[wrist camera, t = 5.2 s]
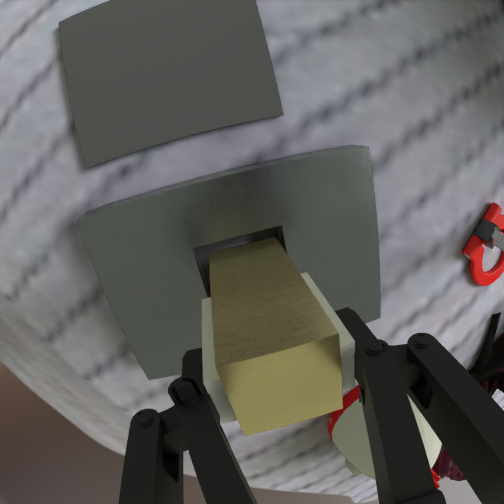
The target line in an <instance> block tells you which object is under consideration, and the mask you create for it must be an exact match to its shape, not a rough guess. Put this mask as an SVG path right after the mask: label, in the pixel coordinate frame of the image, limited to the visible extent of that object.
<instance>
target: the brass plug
mask: <svg viewBox="0 0 504 504" xmlns="http://www.w3.org/2000/svg"><path fill="white" fill-rule="evenodd" d="M209 269H210V290H211V308H212V324H213V340H214V354H215V367H216V370H217V372H218V375H219V377H220V380H221V382H222V384H223V387H224V389H225V392H226V394H227V396H228V399H229V401H230V404H231V406H232V408H233V411H234V413H235V415H236V417H237V420H238V422H239V424H240V427H241V429H242V431H243V433H244V435H245V436H246V435H251V434H255V433H260V432H264V431H268V430H272V429H276V428H280V427H284V426H287V425H291V424H294V423H298V422H301V421H305V420H308V419H312V418H315V417H318V416H321V415H324V414H327V413H330V412H333V411H336V410H339V409H342V408H343V401H342V375H341V356H340V340H339V333H338V331H337V329H336V328H335V326H334V325H333V323H332V322H331V320H330V319H329V317H328V316H327V314H326V312H325V311H324V309H323V308H322V306H321V305H320V303H319V302H318V300H317V299H316V297H315V296H314V294H313V292H312V291H311V289H310V288H309V286H308V285H307V283H306V282H305V280H304V279H303V277H302V276H301V274H300V273H299V271H298V270H297V268H296V267H295V265H294V264H293V262H292V261H291V259H290V258H289V256H288V255H287V253H286V252H285V250H284V249H283V247H282V246H281V244H280V243H279V241H278V240H277V238H276V237H272V238H268V239H264V240H260V241H257V242H253V243H249V244H245V245H241V246H237V247H233V248H229V249H225V250H221V251H217V252H213V253H210V254H209Z"/></svg>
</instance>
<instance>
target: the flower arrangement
mask: <svg viewBox="0 0 504 504" xmlns="http://www.w3.org/2000/svg"><path fill="white" fill-rule="evenodd" d="M500 315H501V312H500V313H497V314H493V315H492V321H491V324H490V328H489V332H488V335H487V338H486V341H485V344H484V346H483V349H482V352H481V355H480V357H479V358H478V360H477V361H476V363H475V365H474V366H473V368H472V369H471V370H470V371H469V373H470V375H471V376H472V377H473V378H474V379H475V380H476V381H477V382H478V383H479V384H480V385H481V386H482V387H483V388H484V390H485V391H486V392H487V393H488V394H489V395H490V396H491V397H492V395H493V394H494V392H495V391H496V390H497V388H498V389H499V390H501V391H502V392H503V393H504V333H503V334H502V335H501V336H500V337H499V338H498V339H497V340H496V341H495V342H494V343H493V340H494V336H495V333H496V330H497V327H498V323H499V319H500ZM432 469H433V471H434V472H435V473H436V474H437V475H438V476H439V475H440V477H441V479H443V478H444V477H446V476H447V477H449V478H450V479H451V480H456V481H462V480H466V478H465V477H464V475H463V474H462V472H461V471H460V469H459V468H458V466H457V465H456V463H455V462H454V460H453V459H452V457H451V456H450V454H449V453H448V451H447V450H446V448H445V447H444V446H443V444H442V445H441V449H440V452H439V455H438V457H437V459H436V462H435V463H434V465H433V467H432Z"/></svg>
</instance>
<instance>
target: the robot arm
mask: <svg viewBox="0 0 504 504" xmlns="http://www.w3.org/2000/svg"><path fill="white" fill-rule="evenodd" d="M502 1H503V2H504V0H502ZM301 276H302V277H303V279H304V280H305V282H306V283H307V285H308V286H309V288H310V289H311V291H312V292H313V294H314V296H315V297H316V299H317V300H318V302H319V303H320V305H321V306H322V308H323V309H324V311H325V312H326V314H327V316H328V317H329V319H330V320H331V322H332V323H333V325H334V326H335V328H336V329H337V331H338V333H339V340H340V356H341V375H342V391H343V390H346V389H349V388H351V387H354V386H355V378H356V380H357V382H358V384H359V403H360V402H361V403H362V408H363V413H364V418H365V423H366V428H367V433H368V438H369V443H370V449H371V455H372V460H373V466H374V472H375V478H376V485H377V491H378V498H379V504H446V501H445V497H444V495H443V493H442V492H441V491H440V490H438V489H437V488H436V486H435V483H434V479H433V475H432V472H431V468H430V464H429V461H428V457H427V454H426V450H425V447H424V444H423V440H422V437H421V434H420V431H419V427H418V424H417V421H416V418H415V415H414V412H413V409H412V406H411V403H410V400H409V397H410V399H411V400H412V401H413V403H414V404H415V406H416V407H417V408H418V410H419V411H420V413H421V414H422V415H423V417H424V418H425V420H426V421H427V422H428V424H429V425H430V427H431V428H432V430H433V431H434V433H435V434H436V435H437V437H438V438H439V440H440V441H441V443H442V444H443V446H444V447H445V448H446V450H447V451H448V453H449V454H450V456H451V457H452V459H453V460H454V462H455V463H456V465H457V466H458V468H459V469H460V471H461V472H462V474H463V475H464V477H465V478H466V480H467V481H468V483H469V484H470V486H471V487H472V489H473V490H474V492H475V494H476V495H477V497H478V498H479V500H480V501H481V503H482V504H504V411H503V410H502V408H501V407H500V406H499V405H498V404H497V403H496V402H495V401H494V399H493V398H492V397H491V396H490V395H489V394H488V393H487V392H486V391H485V390H484V388H483V387H482V386H481V385H480V384H479V383H478V382H477V381H476V380H475V379H474V378H473V377H472V376H471V375H470V373H469V372H468V371H467V370H466V369H465V368H464V367H463V366H462V365H461V364H460V363H459V362H458V361H457V360H456V359H455V358H454V357H453V356H452V355H451V354H450V353H449V352H448V351H447V350H446V349H445V348H444V347H443V346H442V345H441V344H440V343H439V342H438V341H437V340H436V339H435V338H434V337H433V336H432V335H430V334H427V333H417V334H414V335H412V336H411V337H410V338H409V339H408V343H407V344H403V345H394V346H391V345H388V344H387V343H386V342H385V341H383V340H379V339H377V338H376V337H375V336H374V335H373V333H372V332H371V331H370V329H369V328H368V327H367V326H366V324H365V323H364V322H363V320H362V319H361V318H360V317H359V315H358V314H357V313H356V312H355V311H354V310H352V309H350V308H348V307H346V308H343V309H340V310H337V311H334V310H333V309H332V307H331V306H330V304H329V303H328V302H327V300H326V299H325V297H324V296H323V294H322V293H321V292H320V290H319V289H318V287H317V286H316V284H315V283H314V282H313V280H312V279H311V277H310V276H309V274H308V273H307V272H305V273H302V274H301ZM168 394H169V395H170V397H171V399H172V400H173V402H174V404H175V405H174V406H173V407H171V408H169V409H167V410H165V411H162V412H160V413H158V412H157V411H156V410H153V409H144V410H141V411H139V412H137V413H136V414H135V415H134V416H133V418H132V420H131V423H130V429H129V435H128V441H127V447H126V453H125V460H124V467H123V474H122V482H121V489H120V497H119V504H184V503H183V452H184V451H186V450H189V454H190V457H191V460H192V463H193V466H194V469H195V472H196V475H197V478H198V481H199V484H200V486H201V489H202V492H203V495H204V497H205V500H206V503H207V504H258V503H257V501H256V499H255V497H254V496H253V493H252V491H251V489H250V487H249V485H248V483H247V481H246V479H245V477H244V475H243V473H242V471H241V468H240V466H239V464H238V462H237V460H236V458H235V456H234V453H233V451H232V449H231V447H230V445H229V442H228V440H227V438H226V436H225V433H224V431H223V429H222V427H221V425H220V419H221V421H222V423H226V422H231V421H235V420H237V417H236V415H235V413H234V411H233V408H232V406H231V404H230V401H229V399H228V396H227V394H226V392H225V389H224V387H223V384H222V382H221V380H220V377H219V375H218V372H217V370H216V367H215V354H214V340H213V324H212V308H211V297H210V298H206V299H202V347H201V348H197V349H192V350H188V351H186V353H185V355H184V356H183V358H182V377H179V378H177V379H175V380H174V381H173V382H172V383H171V384H170V386H169V388H168ZM407 394H408V395H407ZM408 396H409V397H408Z"/></svg>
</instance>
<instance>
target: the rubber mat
mask: <svg viewBox="0 0 504 504" xmlns="http://www.w3.org/2000/svg"><path fill="white" fill-rule="evenodd" d="M59 31H60V41H61V49H62V56H63V63H64V70H65V76H66V82H67V88H68V94H69V99H70V104H71V109H72V114H73V118H74V123H75V127H76V132H77V136H78V140H79V144H80V148H81V152H82V156H83V160H84V164H85V167H86V169H87V168H90V167H92V166H95V165H98V164H101V163H103V162H106V161H109V160H112V159H115V158H117V157H120V156H123V155H126V154H129V153H132V152H135V151H139V150H142V149H145V148H148V147H151V146H155V145H158V144H161V143H165V142H168V141H172V140H175V139H179V138H182V137H186V136H190V135H194V134H198V133H201V132H205V131H210V130H214V129H218V128H222V127H226V126H231V125H235V124H240V123H245V122H249V121H254V120H259V119H265V118H270V117H275V116H281V115H284V114H283V110H282V105H281V101H280V96H279V92H278V87H277V83H276V79H275V75H274V70H273V66H272V62H271V58H270V54H269V50H268V46H267V42H266V38H265V34H264V30H263V27H262V23H261V19H260V15H259V12H258V8H257V4H256V1H255V0H110V1H107V2H105V3H102V4H99V5H97V6H94V7H92V8H90V9H87V10H85V11H82V12H80V13H78V14H76V15H73V16H71V17H69V18H67V19H65V20H63V21H61V22H59Z"/></svg>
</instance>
